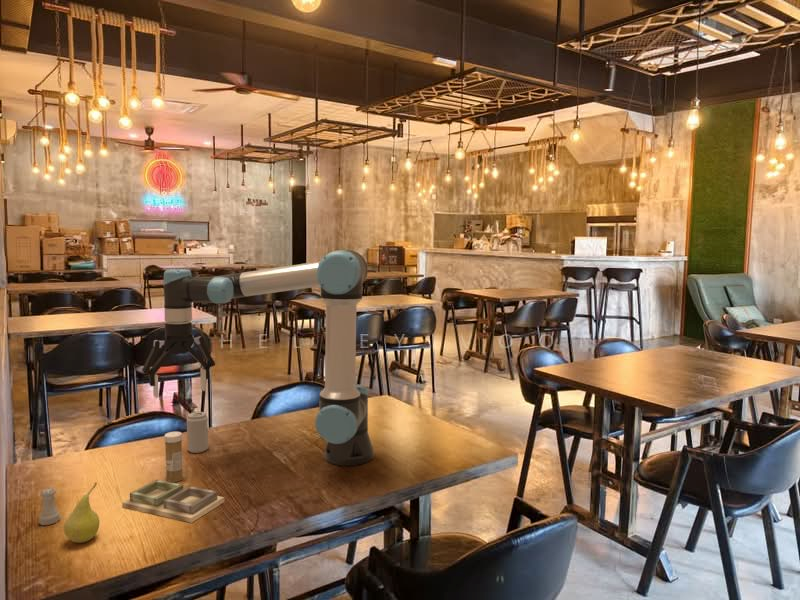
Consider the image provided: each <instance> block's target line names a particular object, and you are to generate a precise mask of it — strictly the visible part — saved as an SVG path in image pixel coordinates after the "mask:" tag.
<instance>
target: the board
mask: <svg viewBox="0 0 800 600" xmlns="http://www.w3.org/2000/svg"><path fill="white" fill-rule="evenodd" d="M225 502H226V500H225V496H219V495H218V491H215V490H212V489H206V488H200V487H196V486H193V485H192V486H191V485H189V486H187V487H185V488H184V484H181V483H177V482H173V483H171V482H167V481H166V480H161V479H155V480H154V481H151V482H149V483H147V484H144V485H143V486H141V487H139V488H137V489H134V490H133V491H130V492H129V498H128V499H127V500H125V501H123V502H121V503H122V505H121V508H125V509H130V510H133V511H138V512H142V513H145V514H146V513H147V514H151V515H155V516H156V515H157V516H159V517H165V518H168V519H174V520H178V521H182V522H185V523H191V524H193V523H194V522H195V521H197V520H198V519H200V518H201V517H203V516H205V515H206V514H208V513H209V512H211V511H213V510H215V508H217V507H219V506H220V505H221V504H224V503H225Z"/></svg>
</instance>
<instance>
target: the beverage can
mask: <svg viewBox="0 0 800 600" xmlns="http://www.w3.org/2000/svg"><path fill="white" fill-rule="evenodd" d="M208 421H209V420H208V416H207V412H204V411H195V412H191V413H188V414H187V417H186V438H187V447H186V448H187V451H189V452H190V453H191V454H200V453H204V452H206V451H207V450H208V449H209V423H208Z"/></svg>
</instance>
